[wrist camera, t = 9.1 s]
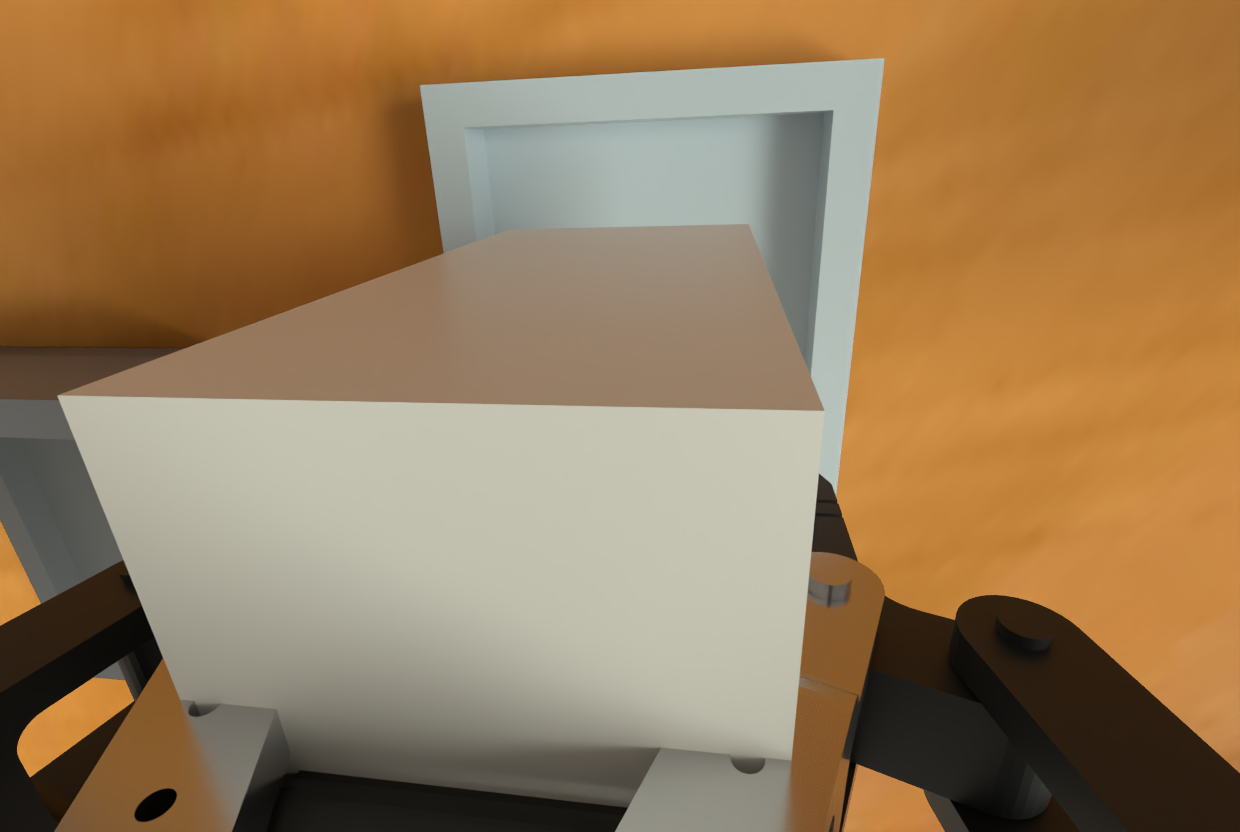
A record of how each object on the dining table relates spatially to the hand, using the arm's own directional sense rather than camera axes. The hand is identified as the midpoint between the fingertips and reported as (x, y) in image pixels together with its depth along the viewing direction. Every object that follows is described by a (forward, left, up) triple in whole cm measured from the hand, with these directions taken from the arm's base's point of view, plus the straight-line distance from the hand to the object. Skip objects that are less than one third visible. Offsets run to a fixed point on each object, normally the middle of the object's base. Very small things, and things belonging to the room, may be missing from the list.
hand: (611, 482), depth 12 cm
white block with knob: (0, 0, -3) cm, 3 cm away
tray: (0, 0, -8) cm, 8 cm away
